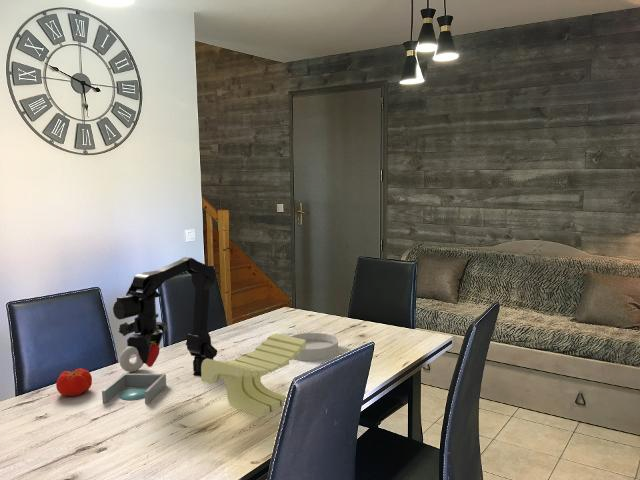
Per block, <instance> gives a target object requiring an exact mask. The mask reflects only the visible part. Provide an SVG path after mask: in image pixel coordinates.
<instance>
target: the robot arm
mask: <svg viewBox="0 0 640 480" xmlns="http://www.w3.org/2000/svg"><path fill="white" fill-rule="evenodd" d="M183 273H187V274H189V275H190V276H191V282H192V285H193V287H194V290H195V294H194V309H193V323H192V326H193V327H192V330H191V332H190V333H187V334H186V343H185V346H186V349H187V350H188V351H189V354H190V356H191V357H193V360H192V367H193V368H192V371H193V373H192V374H193V376H202V374H201V365H202V362H203V360H205V359H207V358H208V359H211V360H214V359H215V357H217V354H218V350H217V348H215V347H214V346H213V345H212V337H211V335H210V333H209V331H208V319H209V304H210V302H209V301H210V290H211V288H212V287H213V285H214V283H215V279H216V275H217V273H216V269H215V268H214V267H213V266H212V265H207V264H205V263H203V262H200V261H198V260H196V259H195V258H193V257H187V256H185V257H181V258H180V259H178V260H177V261H174V262H172V263H170V264H168V265H165V266H163V267H161V268H159V269H156V270H152V271H144V272H140V273H138V274H136V275H134V276H133V280H132V282H131V284H130V286H129V287H128V290H127V292H126V294H125V296H117V297H116V301H115V302H114V304H113V307H112V312H113V315H114V317H115V318H116V319H117V320H125V319H128V318H132V317H134V320H132V321H129V322H124V323H120V324H119V328H118V333H119V334H121V335H122V336H123V337H126V336H127V335H129V334H131V333H134V334H132V335H131V336H129V337H128V338H127V340H126V347H129V346H132V347H135V348H136V349H137V350H138V352H139V355H140V357H141V359H142V362H143V363H144V364H145V363H147V360H148V357H149V353H150V349H151V346H152V343H150V342H152V341H156V342H153V343H157V345H158V346H159V347H160V344H161V341H162V339H163V337H164V335H165V332H167V330H168V328H167V323H166V322H164V321H157V318H158V317H159V313H157V307H156V306H157V305H156V298H160V297H161V296H162V294H160V293H159V292H158V291H157V290H158V289H160V288H161V287H162V285H163V283H165V282H167V281H169V280H171V279H173V278H175V277H178V276H179V275H181V274H183Z"/></svg>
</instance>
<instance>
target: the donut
mask: <svg viewBox="0 0 640 480" xmlns="http://www.w3.org/2000/svg"><path fill="white" fill-rule="evenodd" d="M133 355H135V356H136V358H135V360H134V361H133V362H131V361H130V358H131V357H132V356H133ZM144 364H145V363H143V362H142V360H141V359H140V357H139V355H138V350H137V349H136V348H135V347H132V346H126V348H124V349H123V350H122V352H121V353H120V355H119V365H120V367H121V369H122V370H123V371H125V372H127V373H132V372H136V371H138V370H140V369H141V368H142V367H143V365H144Z"/></svg>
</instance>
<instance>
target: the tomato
mask: <svg viewBox="0 0 640 480" xmlns="http://www.w3.org/2000/svg"><path fill="white" fill-rule="evenodd" d="M55 384H56V385H55V387H56V388H55V389H56V390H57V393H59V394H60V395H61V396H65V397H66V396H67V397H69V396H71V397H75V396H77V397H78V396H79V395H81V394H82V393H85V392H87V391H88V390H89V389H90V388H91V387H92V384H93V377H92V374H91V373H90V371H89V370H87V369H84V368H76V369H74V370H72V371H71V370H70V371H69V370H65V371H63V372H61V373H60V375H59V377H58V378H57V380H56V383H55Z"/></svg>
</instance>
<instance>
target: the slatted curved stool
mask: <svg viewBox="0 0 640 480" xmlns="http://www.w3.org/2000/svg"><path fill="white" fill-rule="evenodd" d="M305 348H306V340H304V339H299V338H295V337H290V335H284V334H280V333H273V334H271V335H270V336H268V337H267V338H266V339H265V340H264V341H262V342H261V344H260V345H258V346H256V348H255V349H254V350H253V351H250V352H248V353H247V354H245V356H244V355H243V356H240V357H237V358H234V359H231V360H227V361H226V360H225V361H224V360H215V359H213V360H211V359H208V358H207V359H205V360H203V362H202V365H201V374H202V375H201V382H204V383H208V384H210V385H211V384H212V385H213V384H214V383H215V382H217V379H218V380H222V379H223V381H224V383H225V387H226V394H227V395H226V396H227V401H228V403H229V405H230V407H233V408H235V409H238V410H241V411H243V412H247V413H249V414H251V415H255V416H257V417H260V418H262V417H264V416H266V415H268V414H269V413H271V412H274V411H275V410H277V409H279V408H280V407H281V406H285V405H284V402H285V399H286V395H283V394H280V393H278V392H275V391H273V390H271V389H269V388H268V387H266V386H265V385H264V384H263V383H262V382H261V378H262V377H264V376H266V375H268V374H269V373H272V372H275V371H277V370H279V369H280V368H281V369H282V368H284V367H286V366H288V365H290V361H293V360H294V359H295V355H298V354H300V349H301V350H303V349H305Z"/></svg>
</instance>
